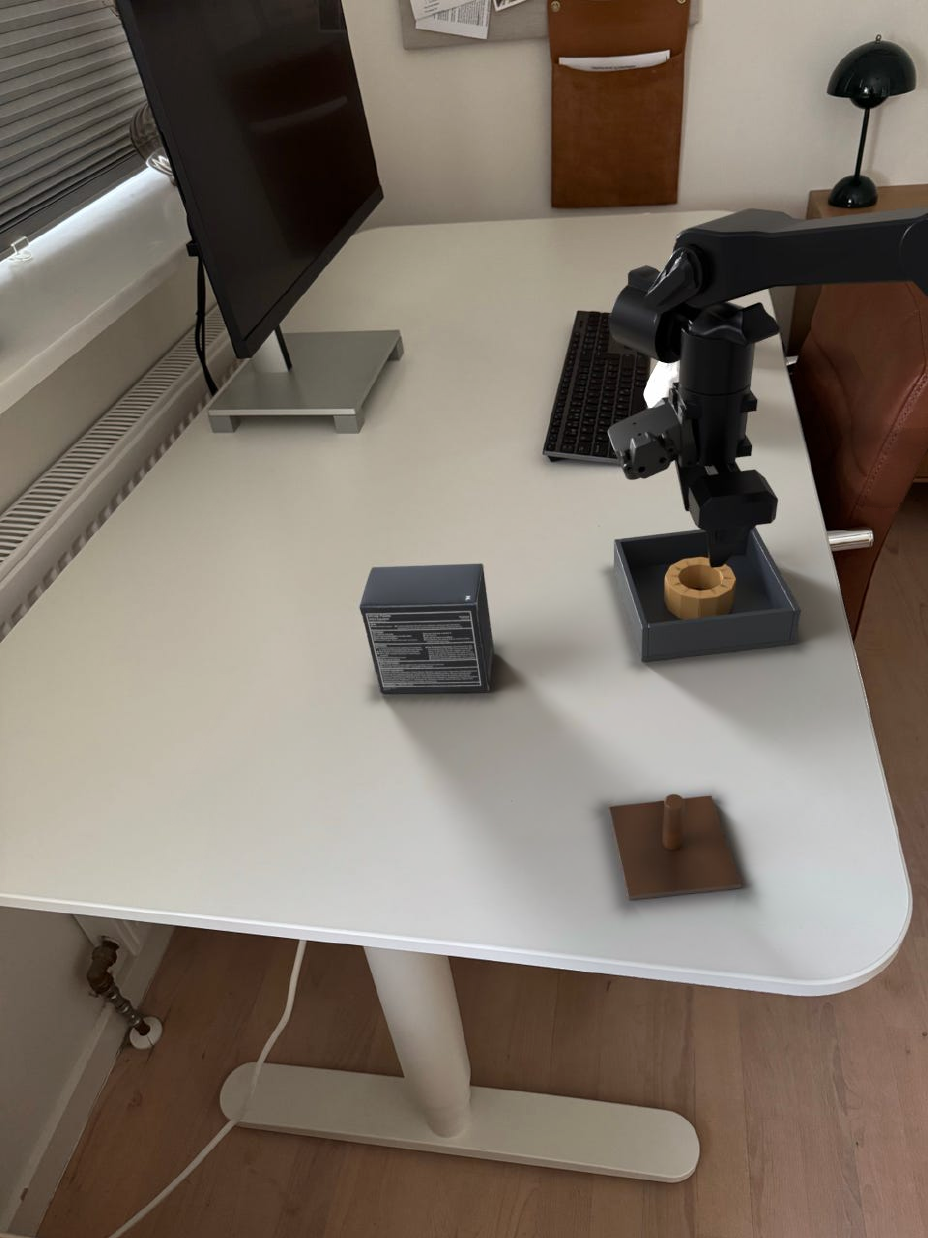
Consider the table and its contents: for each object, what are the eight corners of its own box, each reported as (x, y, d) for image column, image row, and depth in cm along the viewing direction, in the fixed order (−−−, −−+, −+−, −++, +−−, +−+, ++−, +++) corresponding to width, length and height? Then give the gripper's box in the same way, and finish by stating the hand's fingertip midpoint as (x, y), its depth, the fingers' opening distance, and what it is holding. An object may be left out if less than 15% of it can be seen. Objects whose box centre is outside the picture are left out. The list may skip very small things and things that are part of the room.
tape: (722, 577, 90) (724, 553, 88) (740, 618, 85) (743, 593, 83) (658, 585, 90) (659, 561, 88) (673, 626, 85) (674, 601, 83)
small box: (496, 646, 86) (485, 559, 80) (490, 694, 81) (479, 605, 75) (389, 648, 88) (370, 562, 81) (378, 695, 83) (357, 607, 76)
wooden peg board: (711, 799, 70) (715, 752, 66) (740, 888, 63) (747, 841, 60) (609, 811, 70) (608, 764, 66) (628, 900, 64) (629, 854, 60)
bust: (670, 441, 117) (730, 377, 110) (624, 410, 115) (682, 342, 108) (672, 399, 126) (728, 337, 118) (629, 369, 124) (683, 304, 117)
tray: (749, 555, 93) (753, 522, 90) (795, 644, 82) (801, 610, 79) (613, 571, 93) (613, 539, 91) (641, 662, 82) (642, 628, 80)
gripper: (597, 346, 80) (599, 494, 90) (639, 447, 66) (636, 610, 76) (721, 330, 80) (709, 481, 90) (790, 428, 65) (767, 595, 75)
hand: (702, 537), depth 83 cm, fingers open, 9 cm apart
